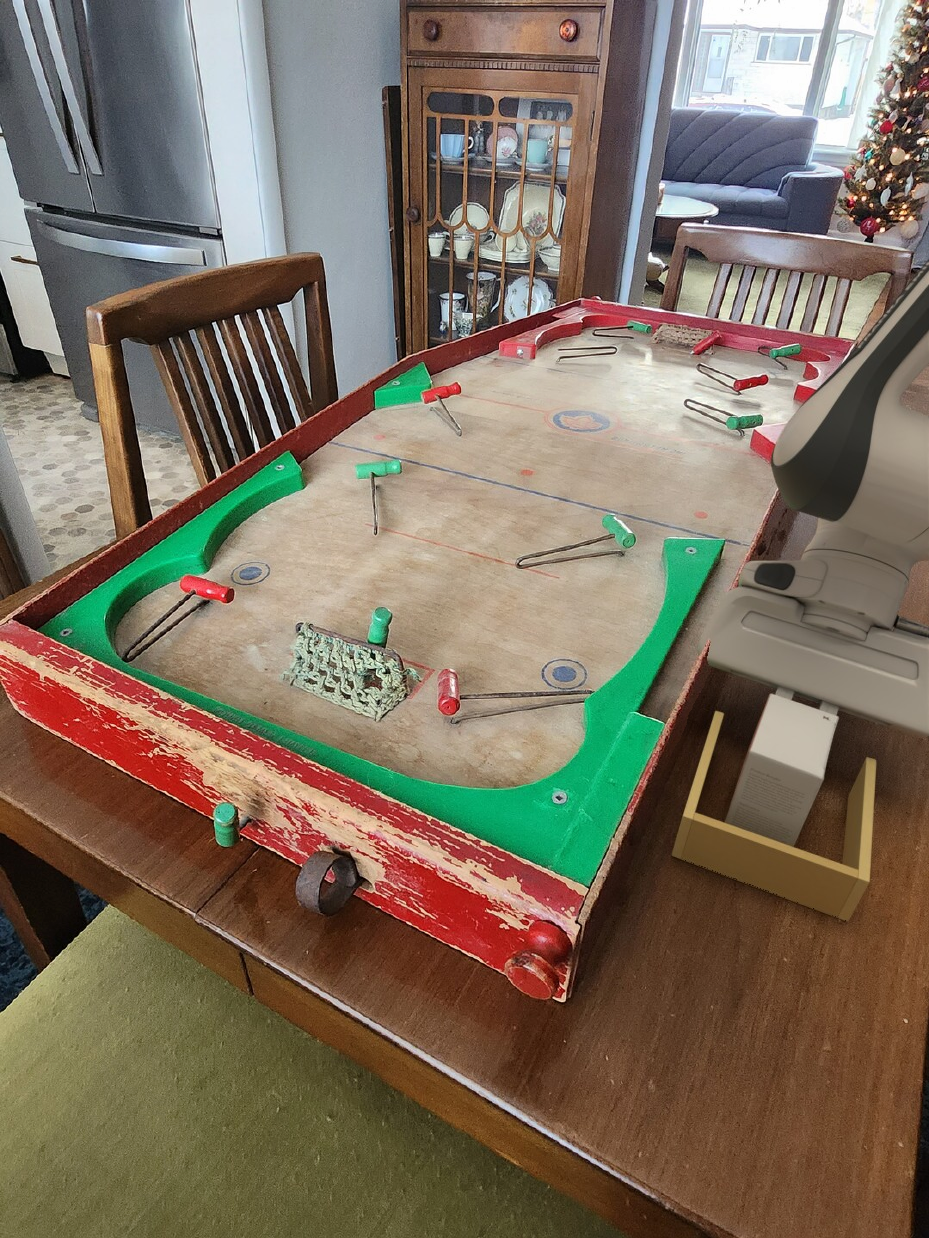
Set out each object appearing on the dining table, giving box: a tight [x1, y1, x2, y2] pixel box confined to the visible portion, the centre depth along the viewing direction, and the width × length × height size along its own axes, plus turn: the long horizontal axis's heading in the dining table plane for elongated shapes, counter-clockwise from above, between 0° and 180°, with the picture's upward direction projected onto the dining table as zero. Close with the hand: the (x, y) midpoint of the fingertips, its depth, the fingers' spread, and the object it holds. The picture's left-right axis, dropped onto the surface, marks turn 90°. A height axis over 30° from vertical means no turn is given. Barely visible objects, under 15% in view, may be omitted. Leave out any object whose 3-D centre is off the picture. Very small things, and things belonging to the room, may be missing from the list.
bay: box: [671, 710, 877, 923], centre depth 65 cm, size 14×14×5 cm
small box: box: [724, 693, 840, 847], centre depth 64 cm, size 8×6×10 cm
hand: (789, 747), depth 67 cm, fingers closed, pressing on small box
